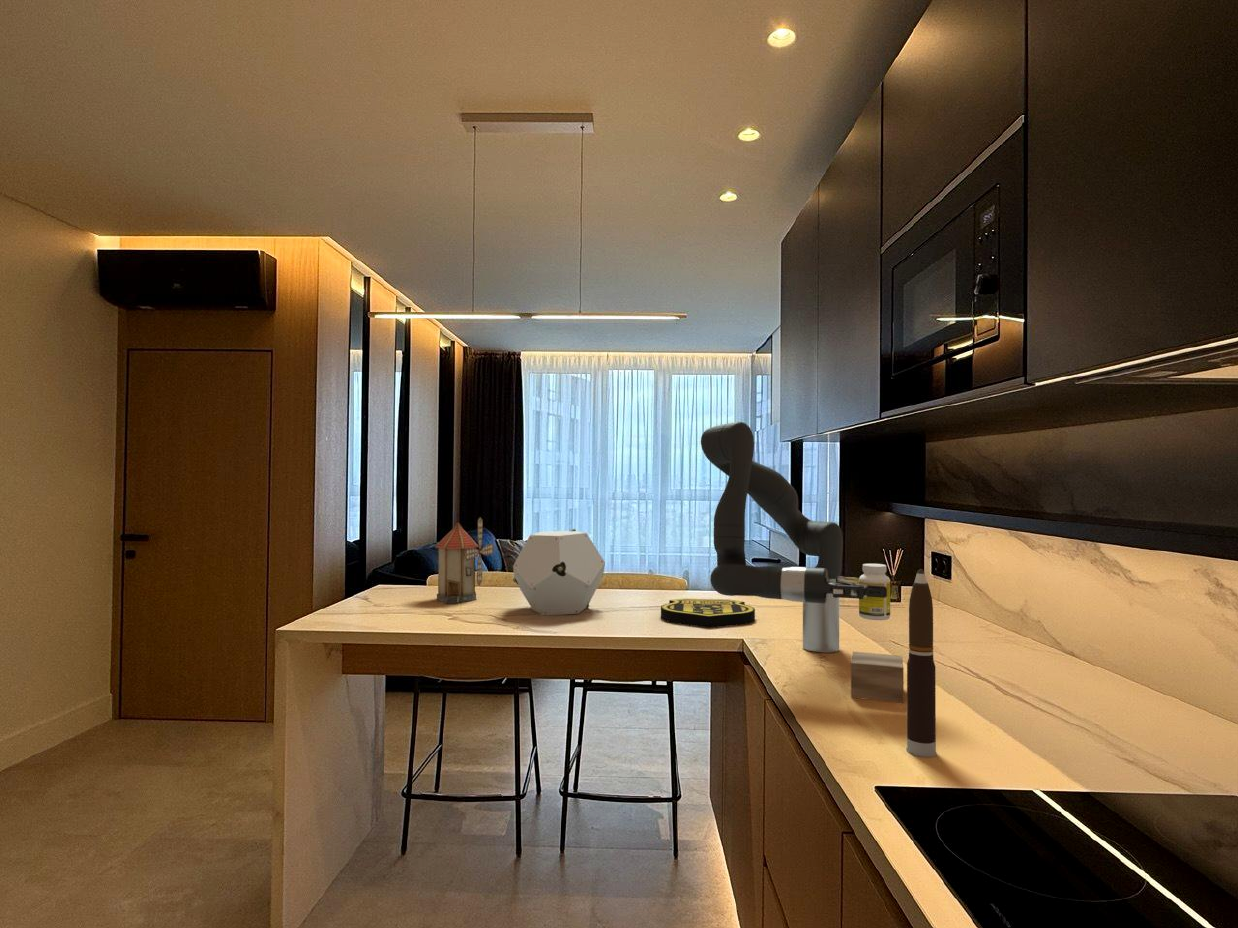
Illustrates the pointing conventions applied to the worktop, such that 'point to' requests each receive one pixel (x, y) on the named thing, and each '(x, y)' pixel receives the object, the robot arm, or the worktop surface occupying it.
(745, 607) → the emblem
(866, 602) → the pill bottle
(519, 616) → the worktop surface
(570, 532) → the geometric sculpture
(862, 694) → the walnut block
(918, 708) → the ammunition
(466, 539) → the miniature windmill
